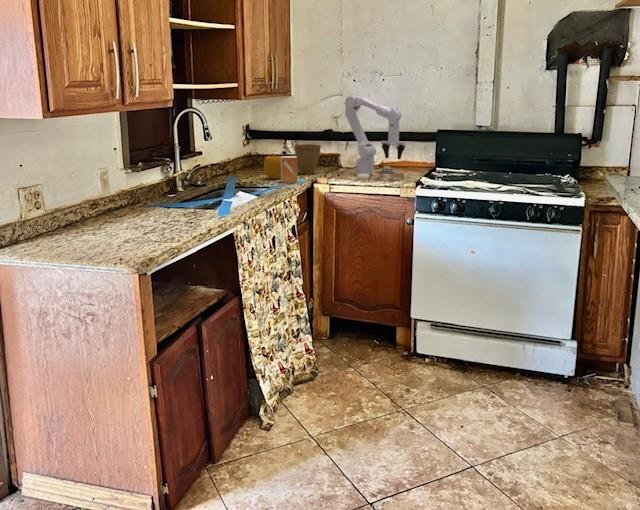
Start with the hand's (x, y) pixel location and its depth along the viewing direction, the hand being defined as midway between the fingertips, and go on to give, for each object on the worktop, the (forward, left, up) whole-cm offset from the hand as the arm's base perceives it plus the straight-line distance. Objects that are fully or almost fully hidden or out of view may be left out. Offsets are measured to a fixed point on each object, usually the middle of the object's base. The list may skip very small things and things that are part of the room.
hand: (393, 158), depth 344 cm
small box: (-35, -46, -10) cm, 59 cm away
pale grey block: (-7, -18, -10) cm, 22 cm away
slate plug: (+3, -11, -10) cm, 15 cm away
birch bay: (+3, -11, -10) cm, 15 cm away
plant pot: (-45, -16, -10) cm, 49 cm away
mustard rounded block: (-48, -42, -10) cm, 65 cm away
